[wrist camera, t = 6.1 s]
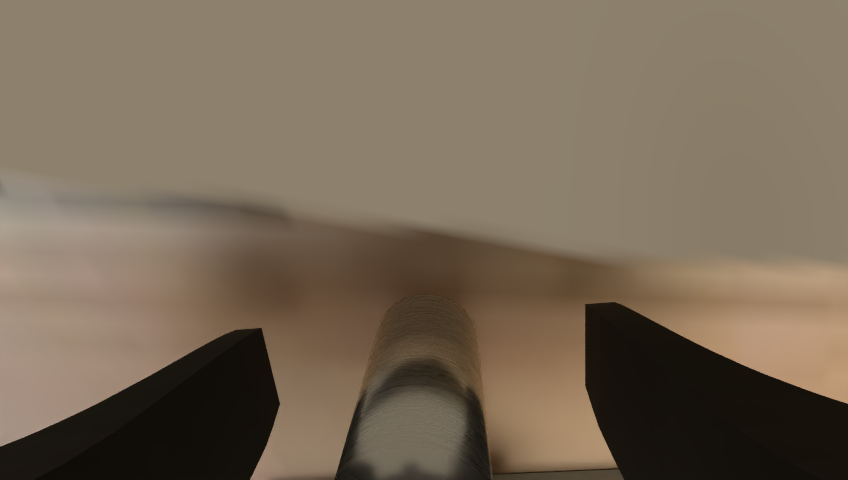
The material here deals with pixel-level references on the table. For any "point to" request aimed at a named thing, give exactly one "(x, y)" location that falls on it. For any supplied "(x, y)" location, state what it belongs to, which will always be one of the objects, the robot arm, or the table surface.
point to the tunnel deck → (565, 475)
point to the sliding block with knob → (420, 399)
